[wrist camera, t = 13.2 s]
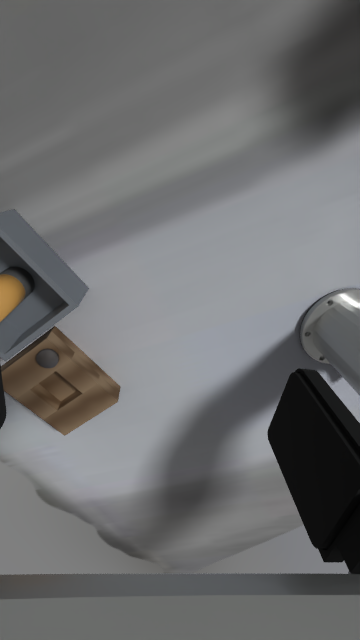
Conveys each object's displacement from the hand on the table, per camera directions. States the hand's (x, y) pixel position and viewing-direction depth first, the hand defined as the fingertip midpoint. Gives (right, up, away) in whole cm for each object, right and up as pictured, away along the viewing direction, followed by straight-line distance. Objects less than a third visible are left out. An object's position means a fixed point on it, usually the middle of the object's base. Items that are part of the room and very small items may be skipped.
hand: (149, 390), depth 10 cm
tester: (-17, -6, +36) cm, 40 cm away
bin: (-20, +8, +29) cm, 36 cm away
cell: (-20, +7, +28) cm, 35 cm away
